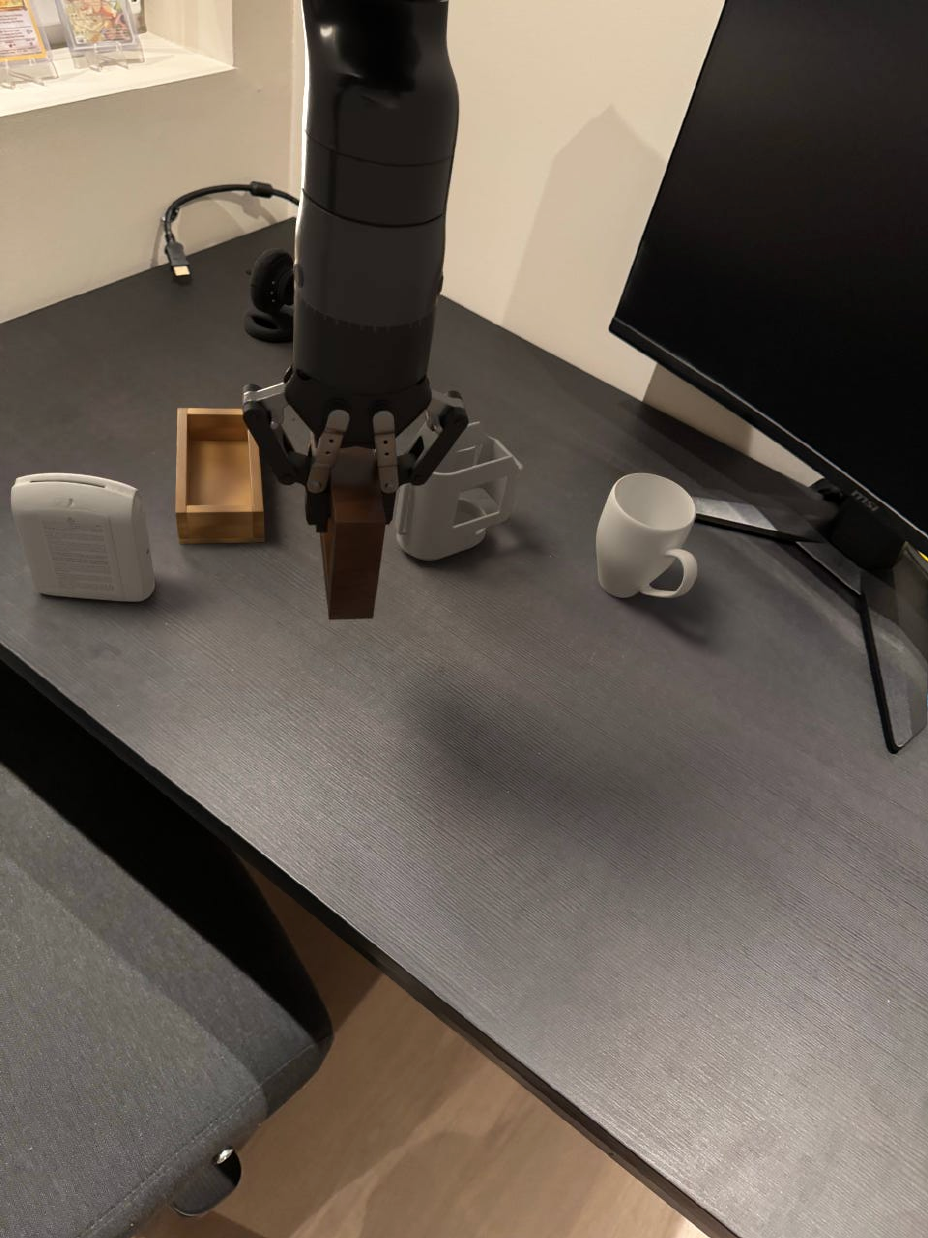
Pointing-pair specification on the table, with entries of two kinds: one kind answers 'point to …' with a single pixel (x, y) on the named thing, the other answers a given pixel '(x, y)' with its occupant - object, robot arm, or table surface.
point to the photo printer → (83, 536)
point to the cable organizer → (457, 498)
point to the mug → (644, 535)
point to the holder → (217, 478)
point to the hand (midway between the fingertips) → (347, 523)
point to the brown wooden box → (353, 535)
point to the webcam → (271, 295)
